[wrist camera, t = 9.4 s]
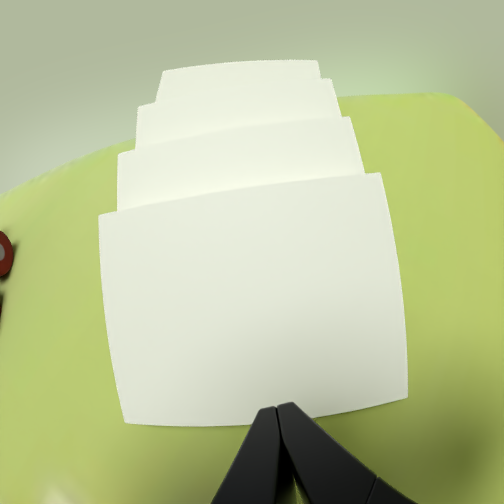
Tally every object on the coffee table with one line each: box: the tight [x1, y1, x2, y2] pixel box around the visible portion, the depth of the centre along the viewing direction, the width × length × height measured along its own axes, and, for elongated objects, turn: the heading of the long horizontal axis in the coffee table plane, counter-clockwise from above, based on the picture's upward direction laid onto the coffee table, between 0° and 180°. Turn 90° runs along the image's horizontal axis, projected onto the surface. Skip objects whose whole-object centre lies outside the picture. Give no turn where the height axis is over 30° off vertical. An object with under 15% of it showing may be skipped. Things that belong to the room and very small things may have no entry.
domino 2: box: [135, 78, 342, 149], centre depth 18 cm, size 2×13×10 cm
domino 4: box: [99, 173, 408, 426], centre depth 13 cm, size 2×13×10 cm
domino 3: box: [117, 116, 365, 211], centre depth 16 cm, size 2×13×10 cm
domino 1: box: [155, 60, 321, 102], centre depth 22 cm, size 2×13×10 cm
